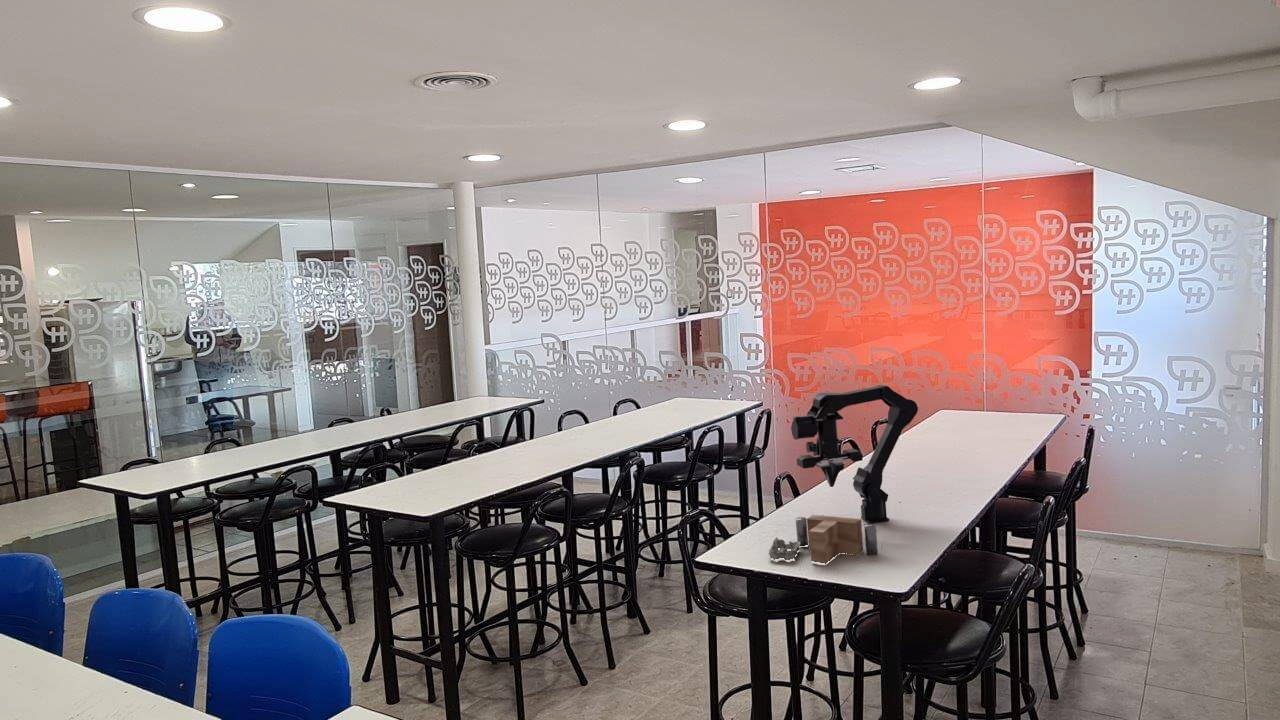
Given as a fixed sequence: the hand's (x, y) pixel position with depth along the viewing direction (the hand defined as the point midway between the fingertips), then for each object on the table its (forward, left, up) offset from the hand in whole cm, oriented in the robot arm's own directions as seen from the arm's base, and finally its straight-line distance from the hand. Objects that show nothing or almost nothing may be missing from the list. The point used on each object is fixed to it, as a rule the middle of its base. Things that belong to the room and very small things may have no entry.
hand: (831, 486), depth 256 cm
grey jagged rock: (+22, +20, -12) cm, 32 cm away
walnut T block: (+12, +25, -12) cm, 30 cm away
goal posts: (+8, +21, -12) cm, 26 cm away
